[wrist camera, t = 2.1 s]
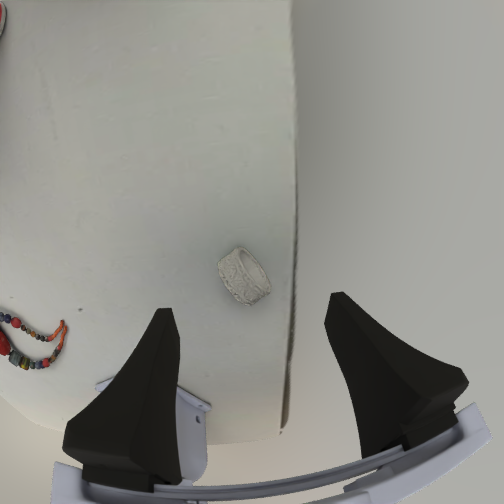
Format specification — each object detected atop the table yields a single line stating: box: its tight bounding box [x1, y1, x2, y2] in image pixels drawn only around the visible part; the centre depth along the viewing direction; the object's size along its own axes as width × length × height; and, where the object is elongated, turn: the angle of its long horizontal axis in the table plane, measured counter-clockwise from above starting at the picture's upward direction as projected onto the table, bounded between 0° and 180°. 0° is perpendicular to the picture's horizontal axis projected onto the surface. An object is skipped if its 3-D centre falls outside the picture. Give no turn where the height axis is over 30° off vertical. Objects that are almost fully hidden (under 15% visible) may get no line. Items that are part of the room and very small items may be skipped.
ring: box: [217, 247, 271, 306], centre depth 15 cm, size 3×1×3 cm, turn 38°
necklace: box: [0, 312, 67, 370], centre depth 17 cm, size 8×11×2 cm
